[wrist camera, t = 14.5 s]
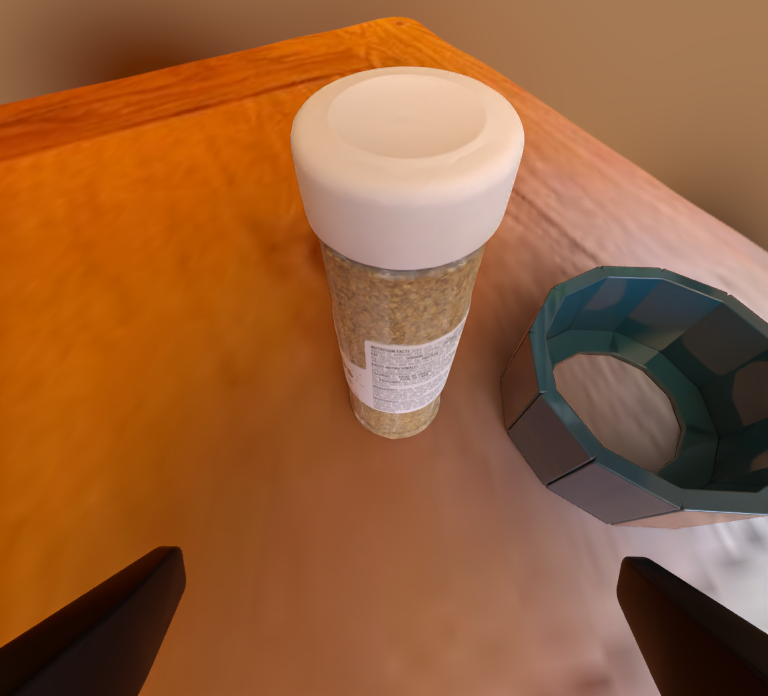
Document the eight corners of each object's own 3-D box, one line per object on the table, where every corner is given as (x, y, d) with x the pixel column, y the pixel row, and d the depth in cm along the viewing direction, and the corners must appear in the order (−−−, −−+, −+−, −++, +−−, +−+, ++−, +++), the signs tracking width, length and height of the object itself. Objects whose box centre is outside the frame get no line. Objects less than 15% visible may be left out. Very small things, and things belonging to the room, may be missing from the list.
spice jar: (349, 360, 20) (293, 60, 8) (435, 356, 20) (501, 52, 8) (350, 445, 17) (272, 194, 6) (447, 440, 17) (565, 181, 6)
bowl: (607, 578, 14) (688, 581, 11) (461, 369, 19) (480, 318, 15) (779, 456, 17) (897, 422, 13) (611, 297, 22) (659, 238, 18)
